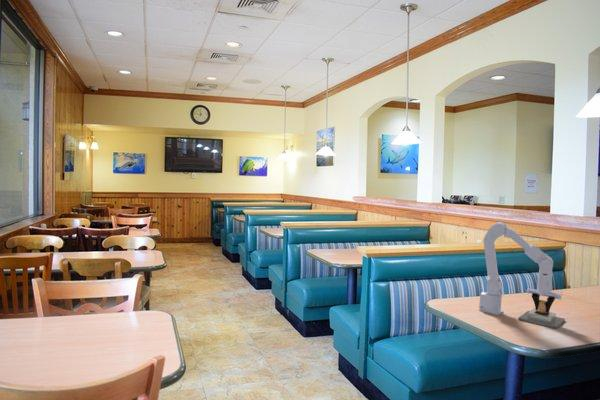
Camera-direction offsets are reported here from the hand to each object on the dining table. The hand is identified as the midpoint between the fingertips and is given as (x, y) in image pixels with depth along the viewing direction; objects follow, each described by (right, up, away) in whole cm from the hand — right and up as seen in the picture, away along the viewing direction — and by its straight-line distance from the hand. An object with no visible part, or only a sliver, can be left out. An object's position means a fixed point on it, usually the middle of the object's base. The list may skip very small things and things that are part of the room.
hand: (542, 311), depth 213 cm
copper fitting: (0, -2, 0) cm, 2 cm away
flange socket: (0, -4, 0) cm, 4 cm away
